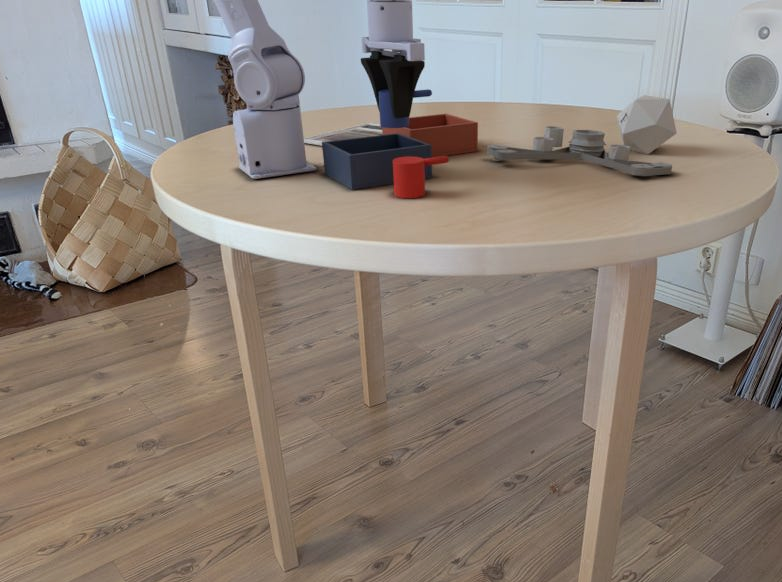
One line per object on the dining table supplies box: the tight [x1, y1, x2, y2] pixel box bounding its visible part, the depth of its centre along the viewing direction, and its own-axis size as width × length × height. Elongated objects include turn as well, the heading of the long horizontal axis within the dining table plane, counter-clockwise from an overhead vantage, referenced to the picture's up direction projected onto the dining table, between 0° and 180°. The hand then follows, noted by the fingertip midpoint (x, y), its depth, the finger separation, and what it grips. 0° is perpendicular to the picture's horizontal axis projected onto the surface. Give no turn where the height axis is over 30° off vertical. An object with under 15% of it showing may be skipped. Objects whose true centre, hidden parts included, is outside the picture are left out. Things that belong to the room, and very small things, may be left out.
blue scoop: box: [378, 88, 433, 128], centre depth 91 cm, size 8×4×4 cm, turn 120°
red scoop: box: [393, 155, 450, 199], centre depth 86 cm, size 8×4×4 cm, turn 120°
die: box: [616, 94, 678, 155], centre depth 105 cm, size 8×9×10 cm
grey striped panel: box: [304, 122, 383, 147], centre depth 118 cm, size 11×1×18 cm
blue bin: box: [321, 133, 433, 191], centre depth 93 cm, size 12×10×4 cm
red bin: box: [382, 113, 479, 158], centre depth 108 cm, size 12×10×4 cm
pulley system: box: [486, 125, 673, 177], centre depth 99 cm, size 27×5×15 cm
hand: (394, 114), depth 90 cm, fingers closed on blue scoop, 4 cm apart
